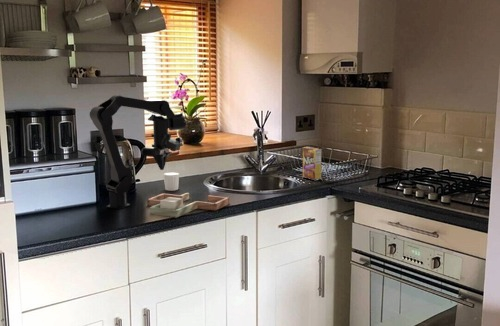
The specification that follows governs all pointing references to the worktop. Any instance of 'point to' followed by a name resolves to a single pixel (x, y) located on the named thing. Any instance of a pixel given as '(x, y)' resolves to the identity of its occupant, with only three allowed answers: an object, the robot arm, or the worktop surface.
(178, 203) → the cream block
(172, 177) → the white cup
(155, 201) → the channel
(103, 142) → the robot arm
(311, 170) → the candy box
